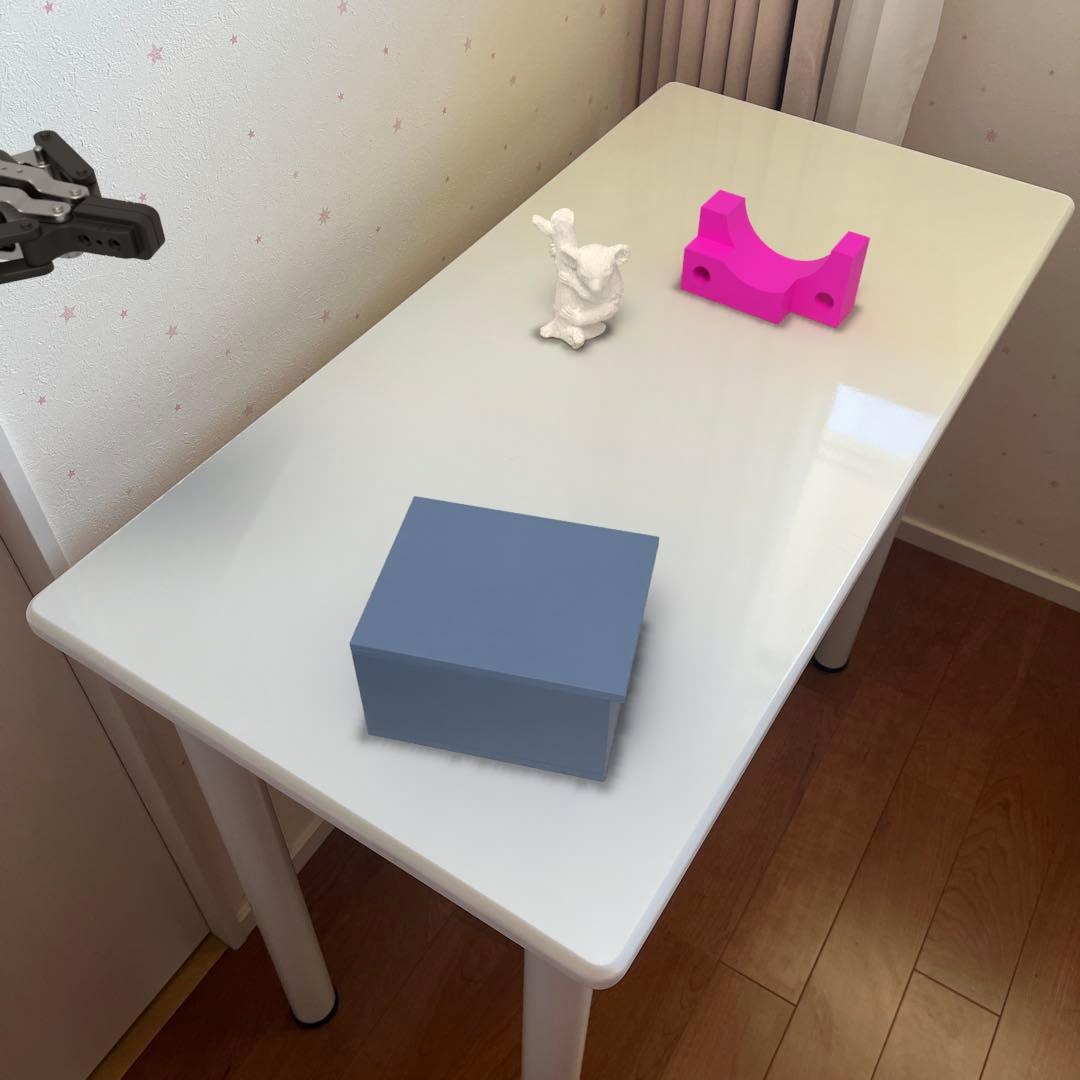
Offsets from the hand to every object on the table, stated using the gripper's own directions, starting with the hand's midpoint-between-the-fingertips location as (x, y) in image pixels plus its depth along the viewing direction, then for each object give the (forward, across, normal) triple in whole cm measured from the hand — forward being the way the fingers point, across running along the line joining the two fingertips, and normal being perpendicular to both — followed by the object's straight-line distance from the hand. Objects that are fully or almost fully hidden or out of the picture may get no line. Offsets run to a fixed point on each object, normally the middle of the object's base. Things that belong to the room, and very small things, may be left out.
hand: (154, 234), depth 54 cm
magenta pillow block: (+31, -49, -30) cm, 65 cm away
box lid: (+18, 0, -22) cm, 29 cm away
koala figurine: (+15, -39, -31) cm, 52 cm away
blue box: (+18, 0, -31) cm, 36 cm away
